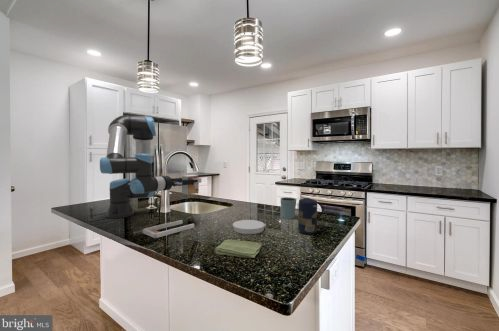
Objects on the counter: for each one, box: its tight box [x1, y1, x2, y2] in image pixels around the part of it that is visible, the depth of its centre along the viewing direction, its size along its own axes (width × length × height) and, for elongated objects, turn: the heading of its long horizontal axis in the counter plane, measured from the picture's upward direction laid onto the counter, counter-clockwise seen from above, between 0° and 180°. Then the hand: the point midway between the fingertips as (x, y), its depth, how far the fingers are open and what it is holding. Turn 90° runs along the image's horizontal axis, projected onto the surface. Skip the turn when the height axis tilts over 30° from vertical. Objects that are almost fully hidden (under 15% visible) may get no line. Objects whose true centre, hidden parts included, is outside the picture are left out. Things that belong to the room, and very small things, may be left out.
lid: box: [232, 219, 267, 235], centre depth 132 cm, size 17×20×3 cm
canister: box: [297, 197, 318, 235], centre depth 126 cm, size 10×10×18 cm
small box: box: [181, 174, 200, 196], centre depth 141 cm, size 8×6×10 cm
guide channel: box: [142, 219, 195, 239], centre depth 128 cm, size 12×23×2 cm, turn 140°
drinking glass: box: [280, 196, 297, 220], centre depth 156 cm, size 10×10×12 cm
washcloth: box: [214, 238, 263, 259], centre depth 102 cm, size 13×18×3 cm
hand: (197, 179), depth 145 cm, fingers closed on small box, 6 cm apart
